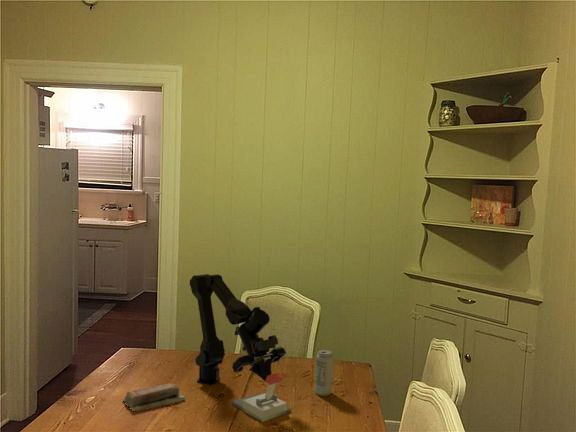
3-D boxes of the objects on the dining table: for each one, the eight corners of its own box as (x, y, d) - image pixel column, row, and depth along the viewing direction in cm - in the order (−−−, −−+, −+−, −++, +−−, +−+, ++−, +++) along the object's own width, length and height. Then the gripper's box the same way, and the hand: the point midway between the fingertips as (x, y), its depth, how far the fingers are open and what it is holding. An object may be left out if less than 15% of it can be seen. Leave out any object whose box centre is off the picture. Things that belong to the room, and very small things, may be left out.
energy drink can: (334, 394, 187) (337, 353, 186) (321, 397, 184) (323, 355, 183) (324, 388, 192) (326, 348, 191) (311, 391, 189) (313, 350, 188)
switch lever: (258, 400, 169) (267, 375, 166) (270, 396, 173) (279, 372, 169) (262, 405, 168) (270, 379, 164) (274, 401, 171) (283, 376, 168)
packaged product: (133, 399, 166) (122, 388, 174) (133, 414, 167) (121, 403, 174) (186, 387, 177) (173, 378, 185) (185, 401, 177) (172, 391, 185)
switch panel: (231, 404, 176) (232, 389, 175) (259, 395, 184) (260, 380, 184) (262, 422, 164) (262, 405, 164) (290, 411, 172) (291, 396, 172)
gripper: (239, 332, 165) (260, 378, 158) (284, 323, 177) (305, 365, 170) (223, 349, 171) (242, 394, 164) (267, 339, 184) (287, 381, 177)
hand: (270, 383), depth 169 cm, fingers closed, pressing on switch lever
